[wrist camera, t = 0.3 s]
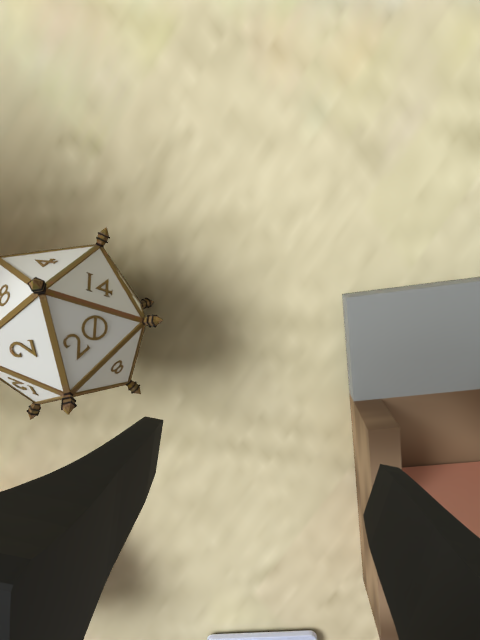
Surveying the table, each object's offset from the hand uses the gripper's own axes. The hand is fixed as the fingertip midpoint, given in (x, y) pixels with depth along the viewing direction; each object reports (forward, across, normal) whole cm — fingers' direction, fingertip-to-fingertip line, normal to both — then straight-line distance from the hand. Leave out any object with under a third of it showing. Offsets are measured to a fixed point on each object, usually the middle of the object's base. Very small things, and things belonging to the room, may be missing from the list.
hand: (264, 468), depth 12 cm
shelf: (+10, -8, -3) cm, 13 cm away
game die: (+10, +10, -1) cm, 14 cm away
